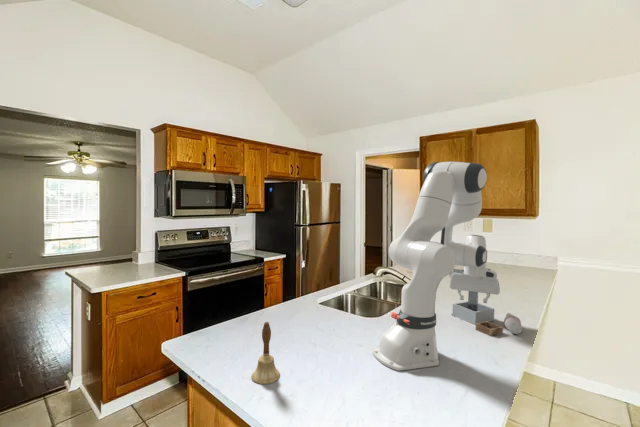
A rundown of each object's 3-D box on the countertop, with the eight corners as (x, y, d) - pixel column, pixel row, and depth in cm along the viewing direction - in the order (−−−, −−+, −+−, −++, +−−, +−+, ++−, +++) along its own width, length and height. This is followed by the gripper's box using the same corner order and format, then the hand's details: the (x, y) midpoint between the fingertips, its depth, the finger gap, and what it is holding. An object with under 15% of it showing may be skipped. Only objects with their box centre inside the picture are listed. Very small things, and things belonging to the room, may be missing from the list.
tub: (475, 324, 133) (475, 312, 133) (452, 315, 144) (452, 303, 144) (493, 320, 138) (494, 308, 138) (470, 311, 149) (470, 300, 149)
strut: (476, 318, 139) (478, 289, 138) (466, 316, 141) (467, 287, 140) (478, 315, 142) (479, 287, 142) (468, 313, 144) (469, 286, 144)
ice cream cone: (507, 321, 137) (516, 341, 123) (496, 312, 138) (503, 330, 124) (519, 312, 135) (529, 331, 121) (507, 303, 136) (515, 321, 122)
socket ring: (491, 336, 122) (491, 329, 122) (475, 329, 128) (475, 323, 128) (502, 333, 125) (502, 327, 125) (486, 326, 131) (487, 320, 131)
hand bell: (285, 375, 92) (286, 322, 91) (263, 388, 86) (263, 330, 85) (268, 365, 97) (268, 315, 97) (245, 376, 91) (245, 322, 91)
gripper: (449, 269, 142) (448, 299, 142) (501, 274, 133) (499, 306, 134) (449, 267, 147) (448, 296, 148) (499, 271, 139) (498, 302, 140)
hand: (473, 301), depth 141 cm, fingers open, 8 cm apart
